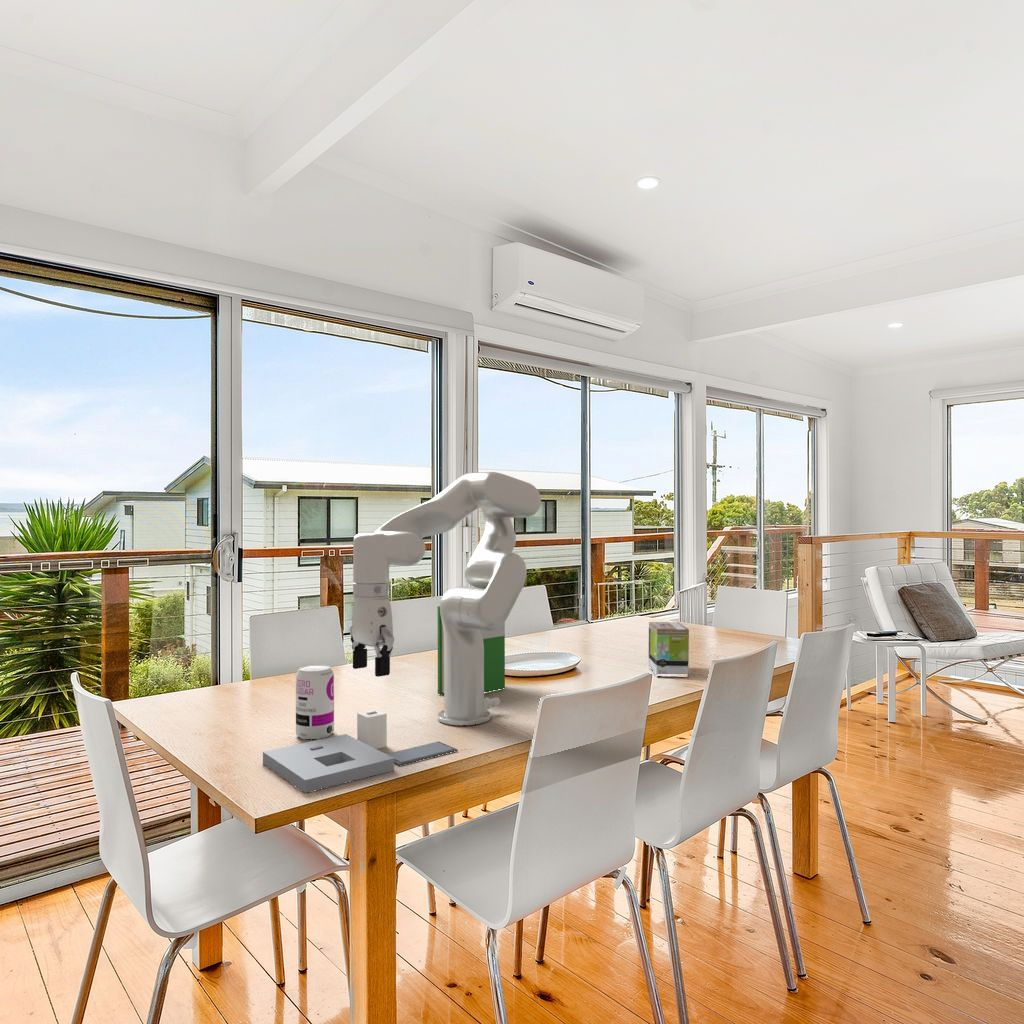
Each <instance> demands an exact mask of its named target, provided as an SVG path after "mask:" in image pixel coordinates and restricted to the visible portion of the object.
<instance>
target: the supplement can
mask: <svg viewBox="0 0 1024 1024" xmlns="http://www.w3.org/2000/svg"><path fill="white" fill-rule="evenodd" d="M334 731H335V673H334V672H333V670H332V666H331V665H327V664H311V665H310V664H309V665H308V664H307V665H302V666H300V667H299V668H298V671H297V672H296V674H295V734H296V736H297V737H298V738H299V737H300V738H299V739H301V738H302V739H301V740H305V739H311V740H310V741H313V740H312V739H317V740H320V739H321V738H323V739H325V737H326V738H329V737H330V736H331V735H332V734H333V733H334Z"/></svg>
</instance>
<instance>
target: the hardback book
mask: <svg viewBox="0 0 1024 1024" xmlns="http://www.w3.org/2000/svg"><path fill="white" fill-rule="evenodd" d="M505 622H506V621H505ZM505 622H504V624H503V625H502V626H501V627H499V628H498V629H496V630H490V631H489V630H480V629H479V630H480V632H481V635H482V638H483V643H484V692H489V691H493V690H498V689H503V688H505V689H506V685H505V684H506V670H505V669H506V653H505V652H506V645H505V644H506V639H505V637H506V635H505V634H506V631H505V630H506V629H505V628H506V626H505V624H506V623H505ZM438 694H444V632H443V625H442V620H441V615H440V605H439V606H437V695H438Z"/></svg>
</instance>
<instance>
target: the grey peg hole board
mask: <svg viewBox="0 0 1024 1024" xmlns="http://www.w3.org/2000/svg"><path fill="white" fill-rule="evenodd" d="M387 754H388V753H385V752H383V751H381V750H379V749H375V748H373V747H371V746H369V745H367V744H365V743H363V742H361V741H359V740H357V739H356V738H355V737H353V736H351V735H349V734H347V733H345V734H339V735H336V736H331V737H330V736H329V737H326V738H323V739H317V740H310V741H308V742H301V743H299V744H293V745H287V746H283V747H278V748H274V749H270V750H264V751H262V765H264V766H265V767H267V768H268V769H269V768H270V770H271V771H272V770H273V771H272V772H274V773H275V772H276V773H275V774H276V775H278V774H279V775H280V776H279V775H278V776H279V777H281V778H282V777H283V778H282V779H284V780H285V779H286V780H285V781H287V782H288V781H289V782H290V784H291V785H292V784H293V785H292V786H294V785H295V786H296V787H297V789H298V788H299V789H300V790H299V789H298V790H299V791H301V790H302V791H303V792H302V791H301V792H302V793H304V792H305V793H306V794H308V793H307V792H310V793H312V792H311V791H314V790H318V789H321V788H325V789H327V788H326V787H329V788H331V787H330V786H333V785H337V786H339V785H338V784H341V785H343V784H342V783H345V782H349V781H352V782H354V781H353V780H356V781H358V780H357V779H360V780H362V779H361V778H364V779H367V778H366V777H368V778H370V777H369V776H372V777H374V776H373V775H376V776H379V775H382V774H381V773H383V774H386V773H385V772H387V773H390V772H389V771H391V772H394V771H395V764H394V758H393V757H391V756H389V755H387ZM393 770H394V771H393ZM378 774H379V775H378ZM289 782H288V783H289ZM349 783H350V782H349ZM345 784H346V783H345ZM295 786H294V787H295ZM296 787H295V788H296ZM333 787H334V786H333ZM321 790H322V789H321ZM318 791H319V790H318ZM314 792H315V791H314ZM305 793H304V794H305Z"/></svg>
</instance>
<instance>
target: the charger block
mask: <svg viewBox="0 0 1024 1024" xmlns="http://www.w3.org/2000/svg"><path fill="white" fill-rule="evenodd" d="M356 715H357V717H356V718H357V721H356V724H357V725H356V727H357V729H356V730H357V733H356V735H357V740H359V741H361V742H363V743H365V744H367V745H369V746H371V747H373V748H375V749H377V750H379V749H382V747H383V748H387V747H386V746H387V745H388V744H387V739H388V738H387V736H388V735H387V732H388V731H387V728H388V727H387V726H388V725H387V723H388V722H387V720H388V719H387V717H388V716H387V713H386V712H383V711H381V710H379V709H376V708H375V709H371V710H366V711H361V712H357V714H356ZM378 748H379V749H378Z"/></svg>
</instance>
